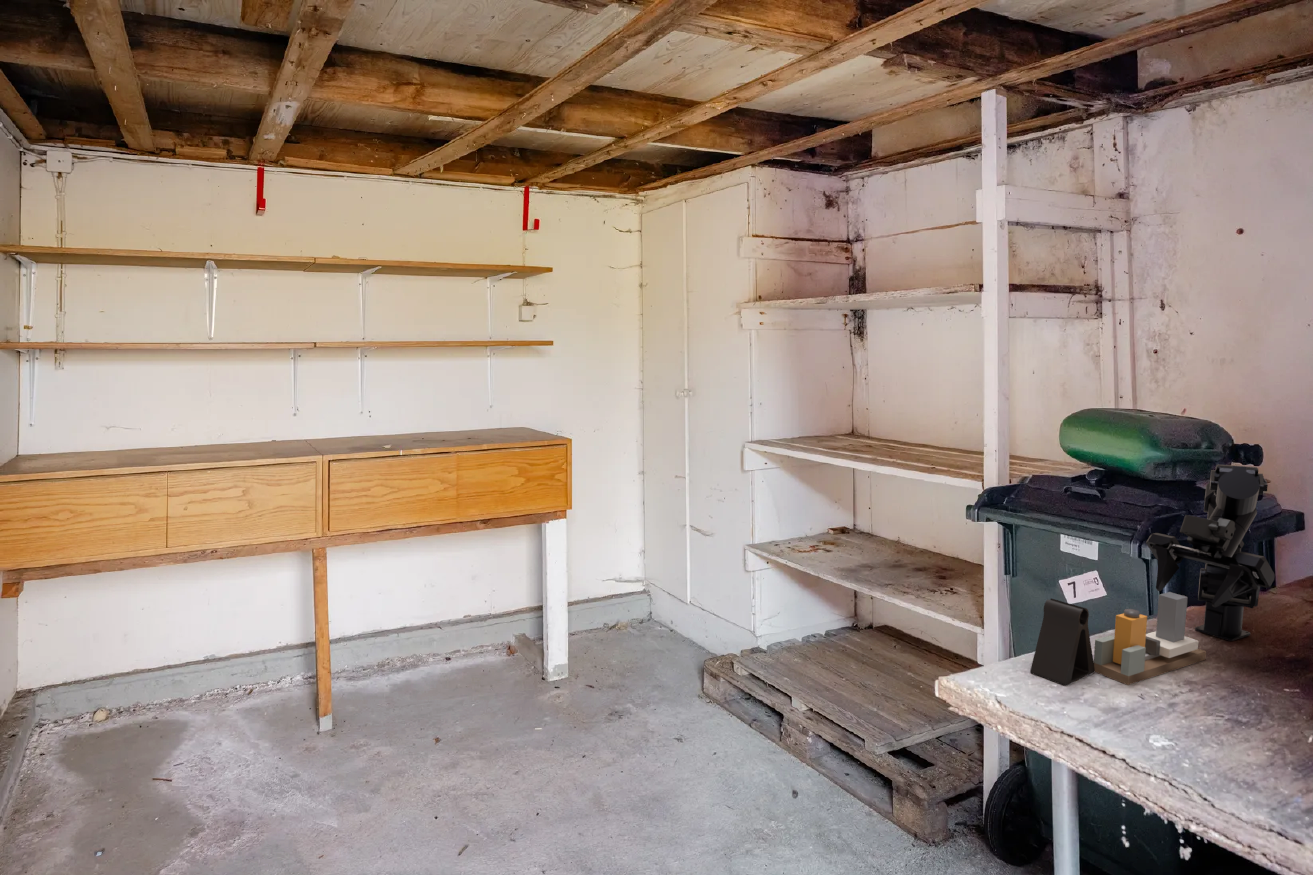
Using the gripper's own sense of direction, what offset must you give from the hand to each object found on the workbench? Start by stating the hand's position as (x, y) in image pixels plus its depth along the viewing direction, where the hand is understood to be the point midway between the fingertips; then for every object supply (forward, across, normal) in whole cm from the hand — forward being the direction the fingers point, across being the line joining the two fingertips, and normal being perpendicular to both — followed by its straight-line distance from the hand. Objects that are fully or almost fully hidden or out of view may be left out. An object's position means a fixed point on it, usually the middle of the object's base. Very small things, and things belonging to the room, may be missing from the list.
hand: (1184, 597), depth 139 cm
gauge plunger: (+16, 0, -4) cm, 16 cm away
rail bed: (+13, 0, +2) cm, 13 cm away
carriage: (+9, 0, +3) cm, 9 cm away
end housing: (+18, -1, -5) cm, 19 cm away
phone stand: (+24, -6, -9) cm, 26 cm away
